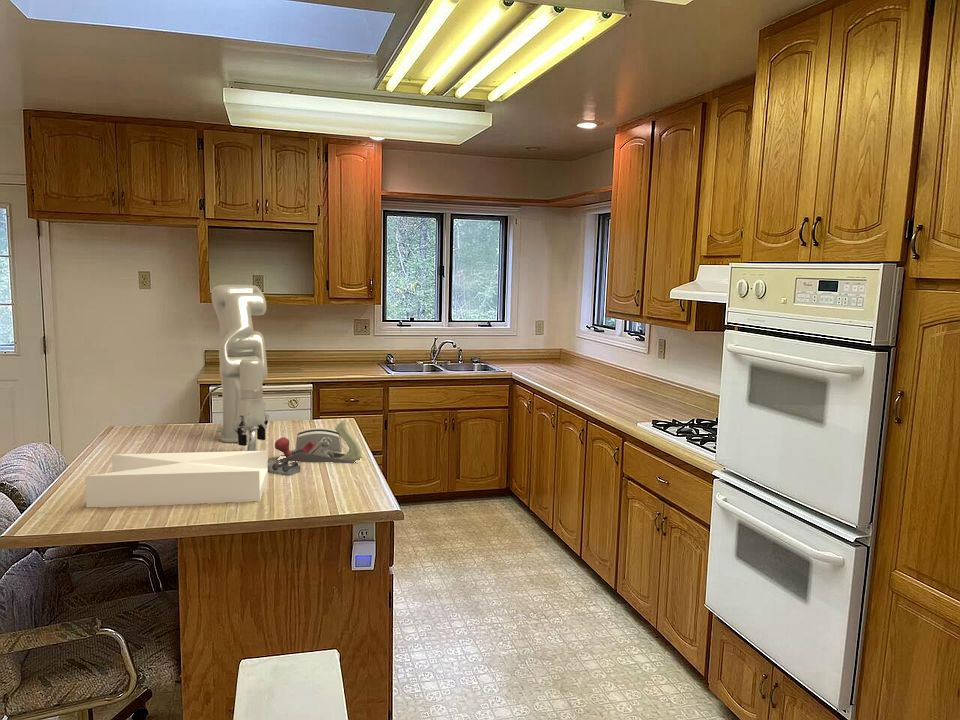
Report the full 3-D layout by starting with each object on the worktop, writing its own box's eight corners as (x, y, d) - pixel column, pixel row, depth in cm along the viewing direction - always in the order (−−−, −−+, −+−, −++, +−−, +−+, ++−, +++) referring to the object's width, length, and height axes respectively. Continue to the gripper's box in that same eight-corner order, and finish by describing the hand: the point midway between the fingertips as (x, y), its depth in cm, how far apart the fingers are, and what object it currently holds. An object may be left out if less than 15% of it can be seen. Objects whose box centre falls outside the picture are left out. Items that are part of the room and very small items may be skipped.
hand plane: (361, 464, 234) (362, 422, 232) (272, 462, 234) (271, 419, 232) (364, 459, 241) (365, 417, 239) (277, 456, 241) (277, 415, 239)
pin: (243, 457, 238) (243, 426, 236) (251, 454, 241) (251, 424, 240) (252, 458, 236) (252, 427, 235) (260, 455, 240) (260, 425, 238)
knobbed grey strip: (210, 463, 228) (210, 454, 228) (225, 458, 235) (225, 450, 235) (288, 476, 217) (288, 466, 216) (302, 470, 223) (302, 461, 223)
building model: (267, 479, 214) (267, 450, 213) (259, 502, 192) (259, 470, 191) (113, 484, 205) (111, 454, 204) (86, 509, 183) (85, 475, 182)
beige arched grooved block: (342, 448, 254) (342, 425, 249) (341, 455, 250) (341, 432, 245) (296, 448, 251) (295, 426, 246) (295, 456, 247) (294, 433, 242)
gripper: (259, 390, 245) (259, 436, 247) (225, 397, 229) (226, 446, 231) (276, 391, 243) (276, 438, 244) (242, 399, 227) (243, 449, 229)
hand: (252, 442), depth 238 cm, fingers open, 9 cm apart
